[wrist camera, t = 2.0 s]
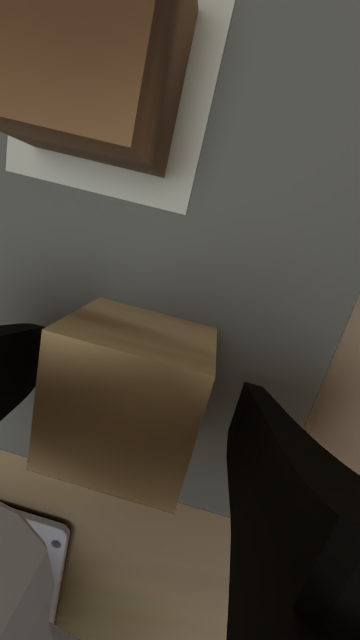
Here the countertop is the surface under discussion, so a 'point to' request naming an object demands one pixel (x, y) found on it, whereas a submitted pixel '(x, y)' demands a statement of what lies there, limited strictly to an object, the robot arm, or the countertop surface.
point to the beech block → (121, 400)
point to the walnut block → (95, 77)
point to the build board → (212, 217)
